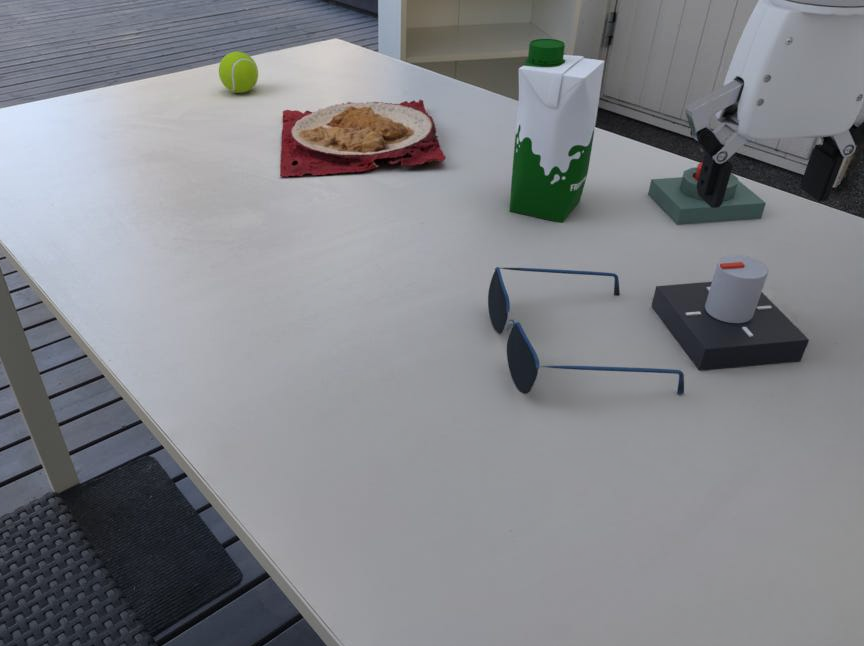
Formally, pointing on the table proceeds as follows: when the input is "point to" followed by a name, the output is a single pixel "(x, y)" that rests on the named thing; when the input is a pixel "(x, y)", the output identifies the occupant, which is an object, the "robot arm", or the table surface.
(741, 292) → the temp dial
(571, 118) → the milk carton
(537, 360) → the sunglasses
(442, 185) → the table surface
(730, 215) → the green button base
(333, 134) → the plate with food
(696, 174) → the power button
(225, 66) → the tennis ball
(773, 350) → the dial panel
